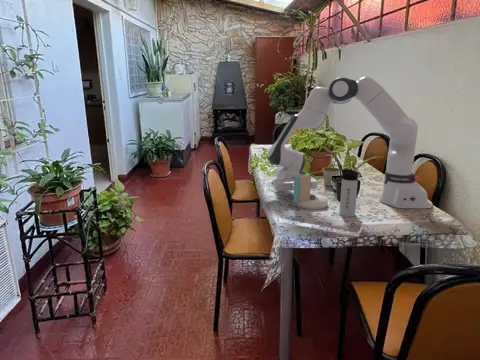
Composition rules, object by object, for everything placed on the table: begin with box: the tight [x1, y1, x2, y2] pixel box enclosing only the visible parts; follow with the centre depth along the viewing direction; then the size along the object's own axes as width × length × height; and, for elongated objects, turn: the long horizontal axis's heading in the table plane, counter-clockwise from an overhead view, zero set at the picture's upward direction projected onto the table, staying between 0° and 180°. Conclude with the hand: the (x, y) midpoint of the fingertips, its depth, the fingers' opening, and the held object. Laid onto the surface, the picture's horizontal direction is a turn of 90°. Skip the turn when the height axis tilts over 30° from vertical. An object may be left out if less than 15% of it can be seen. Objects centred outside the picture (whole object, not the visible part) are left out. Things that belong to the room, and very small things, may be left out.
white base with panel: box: [293, 174, 329, 210], centre depth 164 cm, size 17×14×14 cm
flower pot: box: [321, 166, 340, 187], centre depth 199 cm, size 9×9×9 cm
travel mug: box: [338, 168, 359, 217], centre depth 152 cm, size 6×7×20 cm
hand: (300, 189), depth 163 cm, fingers closed
